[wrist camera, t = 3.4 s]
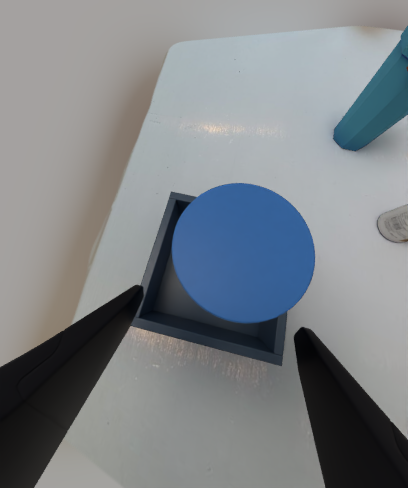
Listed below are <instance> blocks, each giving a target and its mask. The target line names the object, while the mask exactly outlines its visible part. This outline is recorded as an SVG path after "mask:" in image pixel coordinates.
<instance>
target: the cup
mask: <svg viewBox="0 0 408 488" xmlns="http://www.w3.org/2000/svg"><path fill="white" fill-rule="evenodd" d="M406 115H408V26H407V27H406V29H405V30H404V32H403V33H402V35H401V40H400V42H399V43H398V44H397V46H396V47H395V48H394V50H393V51H392V52H391V54H390V55H389V56H388V58H387V59H386V60H385V62H384V63H383V64H382V66H381V67H380V69H379V70H378V71H377V73H376V74H375V75H374V77H373V78H372V79H371V81H370V82H369V83H368V85H367V86H366V87H365V89H364V90H363V91H362V93H361V94H360V95H359V97H358V98H357V100H356V101H355V102H354V104H353V105H352V106H351V108H350V109H349V110H348V112H347V113H346V114H345V116H344V117H343V118H342V120H341V121H340V122H339V124H338V125H337V127H336V128H335V129H334V138H333V139H334V140H335V141H336V142H337V143H338V144H339V145H340V147H341V148H344V149H348V150H352V151H356V150H358V149H360V148H362V147H364V146H366V145H367V144H368V143H370V142H371V141H372V140H374V139H375V138H377V137H378V136H379V135H381V134H382V133H383V132H385V131H386V130H387V129H389V128H390V127H391V126H393V125H394V124H395V123H397V122H398V121H400V120H401V119H402V118H404V117H405V116H406Z"/></svg>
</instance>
